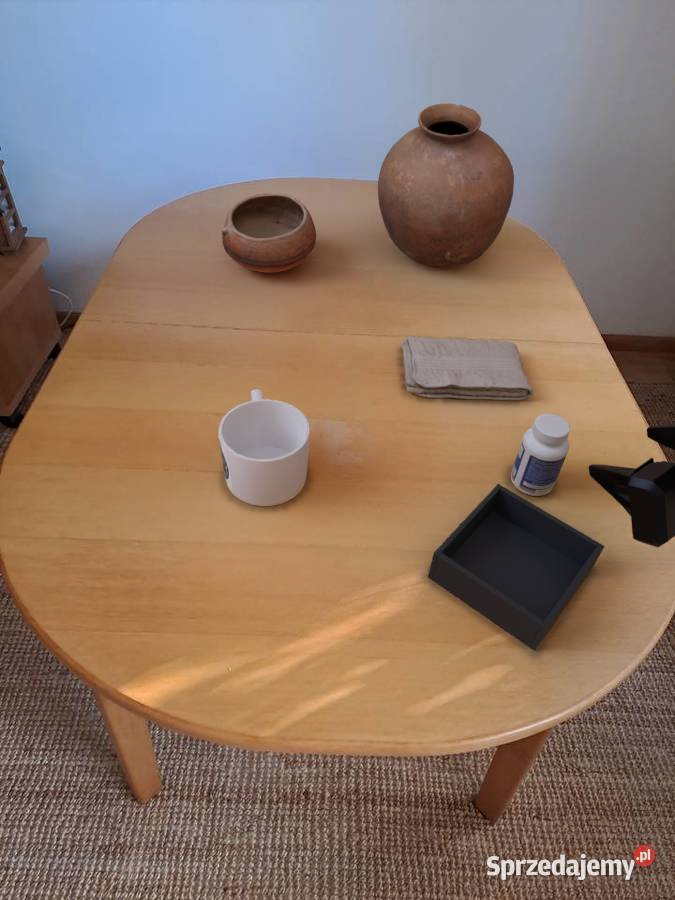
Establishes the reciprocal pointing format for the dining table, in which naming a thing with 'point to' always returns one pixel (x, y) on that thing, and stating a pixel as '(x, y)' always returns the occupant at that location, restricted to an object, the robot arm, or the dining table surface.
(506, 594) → the black square tray
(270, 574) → the dining table surface
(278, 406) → the mug
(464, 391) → the washcloth
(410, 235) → the pottery
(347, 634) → the dining table surface
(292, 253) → the bowl
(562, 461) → the pill bottle
